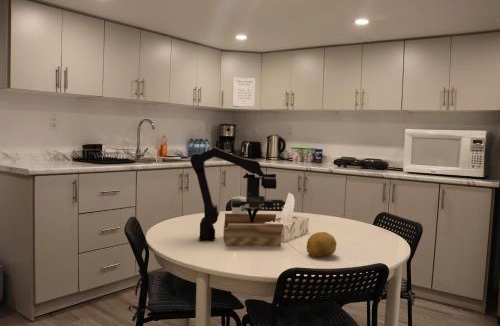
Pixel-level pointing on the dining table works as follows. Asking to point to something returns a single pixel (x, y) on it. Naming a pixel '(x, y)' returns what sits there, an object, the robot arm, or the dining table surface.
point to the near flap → (254, 230)
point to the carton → (251, 241)
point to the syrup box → (241, 208)
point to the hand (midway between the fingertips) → (251, 222)
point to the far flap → (247, 219)
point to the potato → (321, 244)
